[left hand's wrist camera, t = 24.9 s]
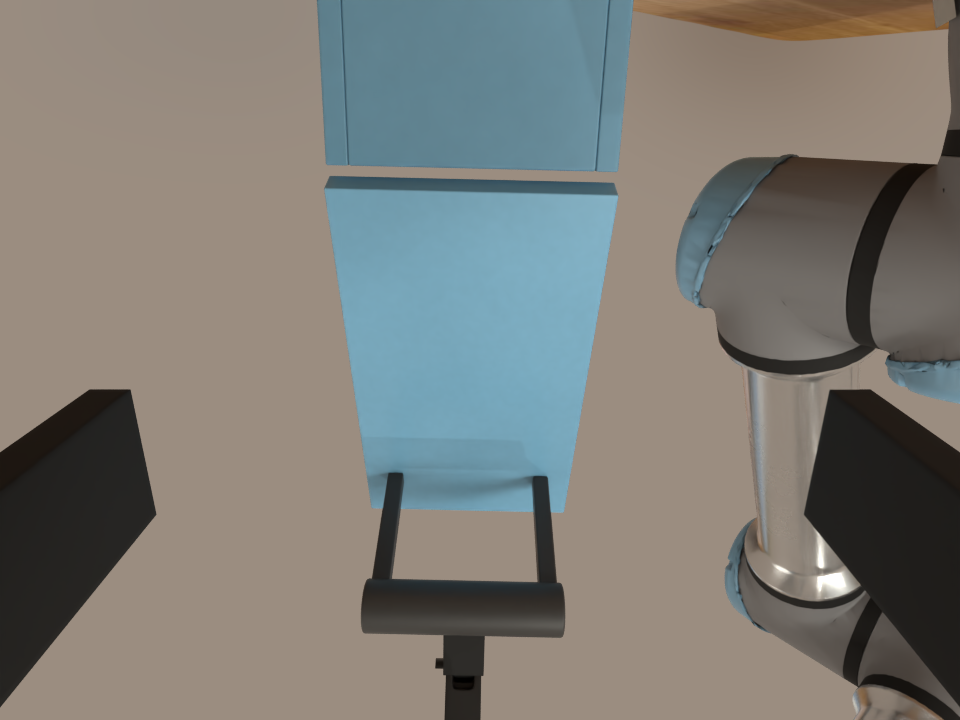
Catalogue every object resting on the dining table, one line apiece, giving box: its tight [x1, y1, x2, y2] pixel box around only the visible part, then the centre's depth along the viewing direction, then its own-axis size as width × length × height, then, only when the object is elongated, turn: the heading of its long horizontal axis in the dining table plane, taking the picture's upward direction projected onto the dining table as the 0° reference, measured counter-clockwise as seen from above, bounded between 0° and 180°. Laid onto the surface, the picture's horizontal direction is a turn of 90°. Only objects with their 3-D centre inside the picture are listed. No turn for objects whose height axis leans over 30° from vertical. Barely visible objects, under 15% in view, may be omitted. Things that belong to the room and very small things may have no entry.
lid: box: [324, 176, 618, 638], centre depth 24 cm, size 17×9×8 cm
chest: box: [317, 0, 633, 172], centre depth 26 cm, size 16×9×10 cm, turn 0°
